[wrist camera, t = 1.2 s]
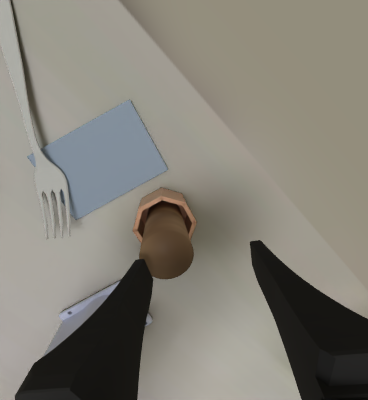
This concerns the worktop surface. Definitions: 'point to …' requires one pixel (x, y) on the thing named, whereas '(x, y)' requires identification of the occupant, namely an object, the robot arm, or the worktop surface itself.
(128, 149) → the mat
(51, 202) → the fork
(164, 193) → the cup
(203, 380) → the worktop surface
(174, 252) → the peg
